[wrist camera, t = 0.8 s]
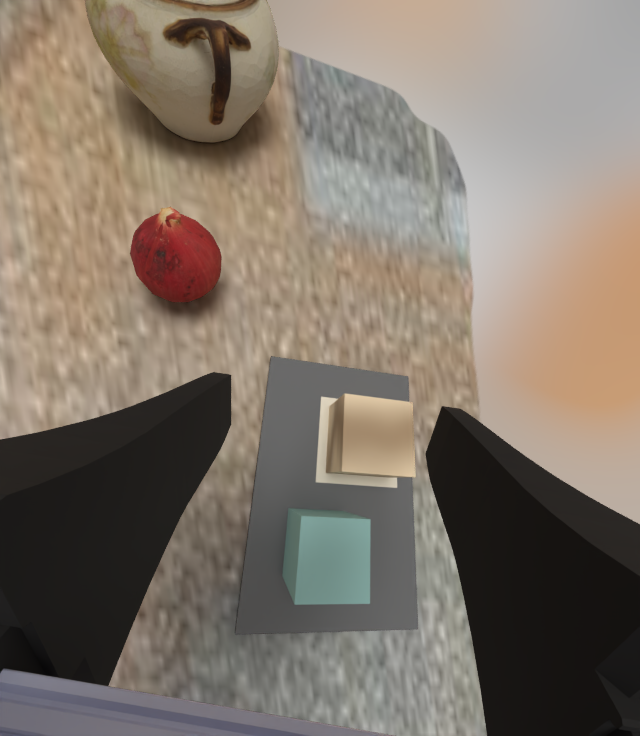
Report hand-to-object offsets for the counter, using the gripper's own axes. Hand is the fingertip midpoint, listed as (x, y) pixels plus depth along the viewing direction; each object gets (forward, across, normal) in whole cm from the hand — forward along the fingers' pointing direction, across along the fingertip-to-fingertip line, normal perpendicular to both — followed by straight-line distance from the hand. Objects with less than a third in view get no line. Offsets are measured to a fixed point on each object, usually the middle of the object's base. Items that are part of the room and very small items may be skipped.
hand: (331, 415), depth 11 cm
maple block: (+11, -3, +9) cm, 14 cm away
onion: (+16, +13, +1) cm, 21 cm away
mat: (+9, -2, +11) cm, 14 cm away
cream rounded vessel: (+30, +17, -14) cm, 38 cm away
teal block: (+5, 0, +14) cm, 15 cm away
